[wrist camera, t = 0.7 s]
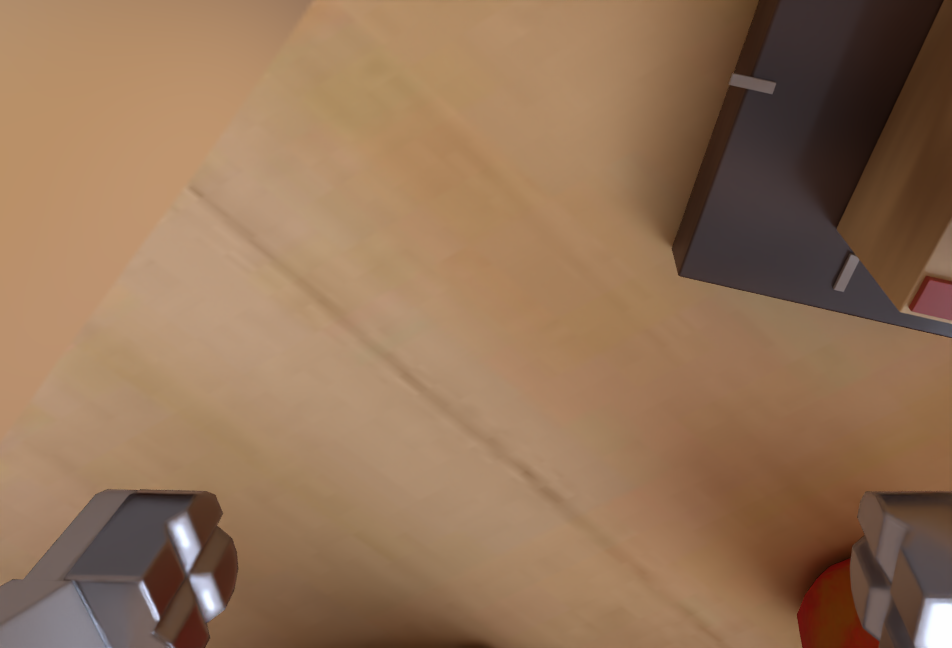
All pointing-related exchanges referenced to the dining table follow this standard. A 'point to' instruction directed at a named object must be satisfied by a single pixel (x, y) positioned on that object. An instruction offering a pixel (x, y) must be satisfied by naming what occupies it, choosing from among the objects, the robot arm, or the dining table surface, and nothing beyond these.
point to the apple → (832, 613)
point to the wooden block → (911, 188)
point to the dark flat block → (802, 153)
